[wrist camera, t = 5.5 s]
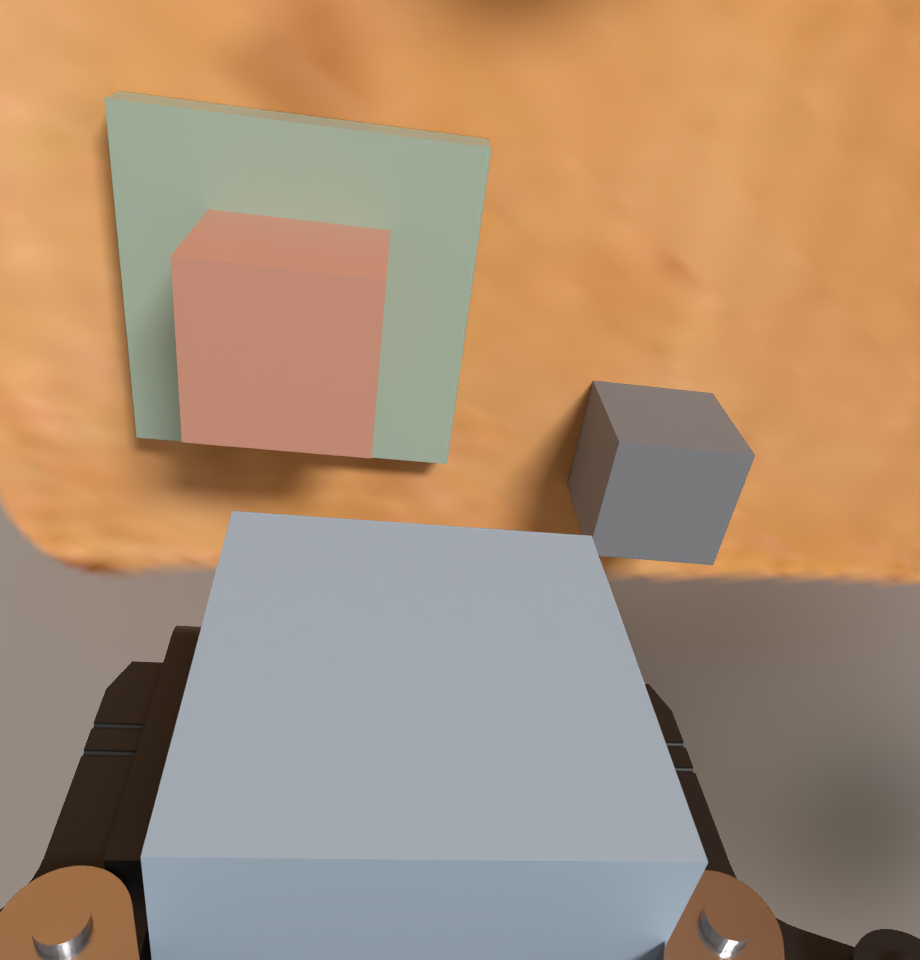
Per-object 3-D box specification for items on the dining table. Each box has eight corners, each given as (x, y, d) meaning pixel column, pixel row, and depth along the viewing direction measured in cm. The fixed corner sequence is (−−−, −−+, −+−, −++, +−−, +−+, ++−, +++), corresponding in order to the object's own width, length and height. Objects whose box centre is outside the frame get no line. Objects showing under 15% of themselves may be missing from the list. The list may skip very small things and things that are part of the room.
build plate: (487, 138, 28) (491, 147, 26) (445, 445, 34) (446, 463, 33) (119, 91, 26) (104, 98, 25) (147, 419, 33) (136, 437, 31)
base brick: (390, 229, 28) (386, 279, 23) (377, 389, 31) (371, 458, 27) (208, 209, 27) (170, 256, 23) (213, 374, 30) (182, 442, 26)
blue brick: (591, 536, 12) (707, 861, 8) (526, 764, 14) (585, 1099, 10) (231, 510, 11) (139, 856, 7) (233, 755, 14) (168, 1113, 9)
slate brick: (711, 392, 33) (755, 455, 29) (677, 494, 36) (712, 564, 32) (593, 379, 33) (619, 441, 29) (567, 483, 36) (587, 554, 31)
